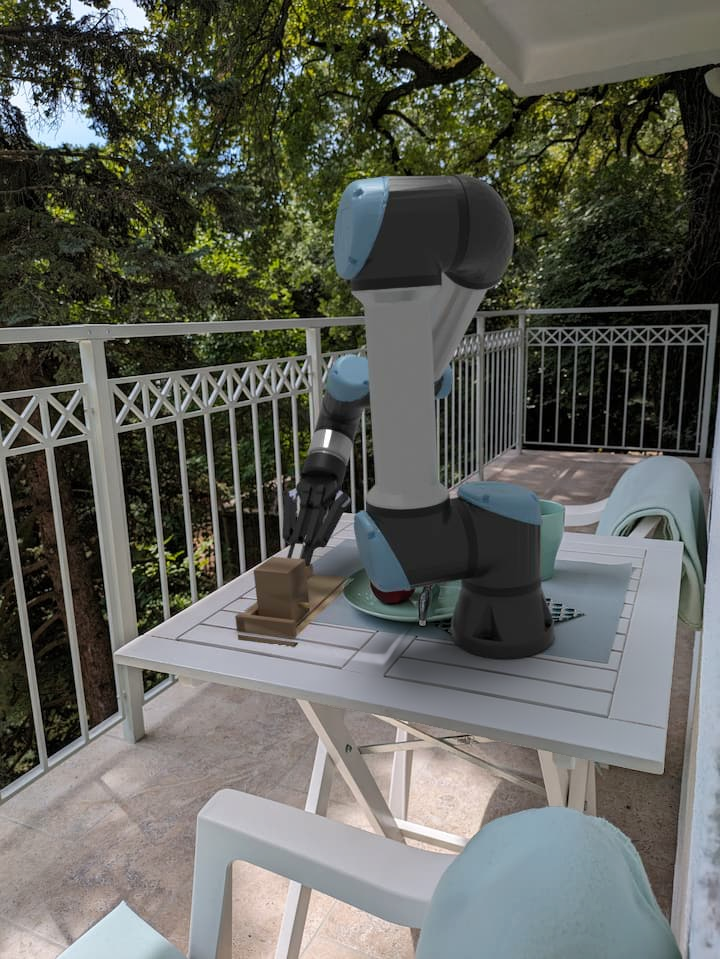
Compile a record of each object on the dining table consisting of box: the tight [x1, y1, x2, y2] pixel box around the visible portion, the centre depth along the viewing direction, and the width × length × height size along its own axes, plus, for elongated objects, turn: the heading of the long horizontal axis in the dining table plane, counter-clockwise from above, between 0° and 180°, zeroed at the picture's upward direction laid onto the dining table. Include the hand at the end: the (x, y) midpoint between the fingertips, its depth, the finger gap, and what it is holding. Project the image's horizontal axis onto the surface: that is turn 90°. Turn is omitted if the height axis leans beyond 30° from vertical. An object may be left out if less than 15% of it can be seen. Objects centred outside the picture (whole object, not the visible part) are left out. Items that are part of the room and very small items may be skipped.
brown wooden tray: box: [234, 563, 349, 648], centre depth 123 cm, size 24×10×4 cm, turn 157°
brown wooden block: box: [253, 556, 310, 624], centre depth 117 cm, size 6×8×9 cm
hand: (292, 582), depth 121 cm, fingers closed
